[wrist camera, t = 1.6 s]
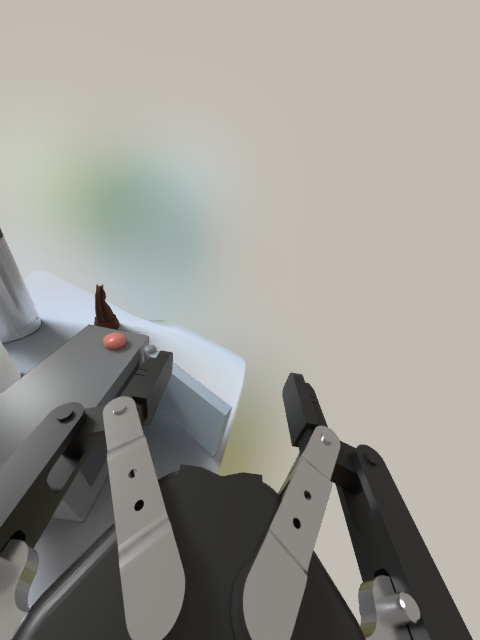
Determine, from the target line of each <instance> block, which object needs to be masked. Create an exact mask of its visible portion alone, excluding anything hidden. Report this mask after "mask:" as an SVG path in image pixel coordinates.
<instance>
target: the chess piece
mask: <svg viewBox="0 0 480 640" xmlns="http://www.w3.org/2000/svg"><path fill="white" fill-rule="evenodd" d="M105 299H106V294H105V292H104V290H103V285H102V286H98V285H97V286H96V294H95V311H96V317H95V322H94V325H95V326H99V327H104V328H110V329H115V330H116V329H118V327H119V322H118V319H117V318H116V315H115V314H113V312H112V310H111V308H110V307H109V305H108V304H107V303H106V302H105Z"/></svg>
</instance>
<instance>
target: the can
mask: <svg viewBox="0 0 480 640" xmlns="http://www.w3.org/2000/svg"><path fill="white" fill-rule="evenodd" d="M20 378H21V374H20V372H19V370H18V368H17V367H16V365H15V363H14V362H13V360H12V358H11V357H10V355H9V354H8V352H7V350H6V349H5V347H4V346H3V344H2V342H1V341H0V394H1V393H3V392H4V391H5V390H6V389H8V388H9V387H10V386H12V385H13V384H14V383H15V382H17V381H18V380H19V379H20Z"/></svg>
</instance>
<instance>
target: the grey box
mask: <svg viewBox="0 0 480 640" xmlns="http://www.w3.org/2000/svg"><path fill="white" fill-rule="evenodd" d="M147 345H149V336H146V335H140V334H135V333H130V332H125V331H120V330H115V329H110V328H104V327H99V326H94V325H88V326H87V327H85V328H84V329H83V330H82V331H80V332H79V333H78V334H77V335H75V336H74V337H73V338H71V339H70V340H69V341H68V342H66V343H65V344H64V345H63V346H61V347H60V348H59V349H57V350H56V351H55V352H54V353H52V354H51V355H50V356H49V357H47V358H46V359H45V360H43V361H42V362H41V363H40V364H38V365H37V366H36V367H35V368H33V369H32V370H31V371H29V372H28V373H27V374H26V375H24V376H23V377H22V378H21V379H19V380H18V381H17V382H15V383H14V384H13V385H12V386H10V387H9V388H8V389H6V390H5V391H4V392H3V393H1V394H0V467H1V466H2V465H3V464H4V463H5V462H6V461H7V460H8V459H9V457H10V456H11V455H12V454H13V453H14V452H15V451H16V450H17V448H18V447H19V446H20V445H21V444H22V443H23V442H24V441H25V440H26V438H27V437H28V436H29V435H30V434H31V433H32V432H33V431H34V430H35V428H36V427H37V426H38V425H39V424H40V423H41V422H42V421H43V420H44V418H45V417H46V416H47V415H48V414H49V413H50V412H51V411H52V410H54V409H55V408H57V407H58V406H60V405H63V404H66V403H70V402H77V403H80V404H82V405H83V407H84V409H85V408H92V407H99V406H104V405H107V404H108V403H109V402H110V401H112V400H113V399H115V398H118V397H120V395H121V394H122V393H123V391H124V390H125V388H126V387H127V385H128V384H129V382H130V381H131V379H132V378H133V377H134V375H135V374H136V372H137V371H138V370H139V368H140V366H141V365H142V363H143V362H144V361H145V358H144V347H145V346H147ZM108 475H109V470H108V462H107V449H102V450H97V451H93V452H90V453H89V454H88V456H87V458H86V460H85V461H84V463H83V465H82V466H81V468H80V470H79V471H78V473H77V475H76V477H75V478H74V480H73V482H72V483H71V485H70V487H69V488H68V490H67V492H66V494H65V495H64V497H63V499H62V500H61V502H60V504H59V505H58V507H57V509H56V511H55V512H54V514H53V516H52V517H51V518H54V519H62V520H69V521H77V522H84V521H85V519H86V517H87V515H88V513H89V511H90V509H91V507H92V505H93V503H94V501H95V500H96V498H97V496H98V494H99V492H100V490H101V488H102V486H103V484H104V482H105V480H106V478H107V476H108Z"/></svg>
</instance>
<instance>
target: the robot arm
mask: <svg viewBox="0 0 480 640" xmlns="http://www.w3.org/2000/svg"><path fill="white" fill-rule="evenodd" d="M40 325H41V320H40V318H39V316H38V313H37V311H36V309H35V306H34V304H33V301H32V299H31V297H30V295H29V292H28V290H27V288H26V286H25V283H24V281H23V279H22V276H21V274H20V272H19V270H18V267H17V265H16V263H15V260H14V258H13V256H12V254H11V252H10V249H9V247H8V245H7V242H6V241H5V238H4V236H3V234H2V231H1V229H0V341H1V342H2V343H4V342H9V341H13V340H17V339H20V338H22V337H25V336H27V335H29V334H31V333H33V332H34V331H36V330H37V329H38V328H39V327H40ZM172 369H173V353H172V352H166V351H160V352H159V353H158V355H157V357H156V358H153V357H150V358H148V359H147V360H146V361H144V362H143V363H142V365H141V366H140V368H139V370H138V371H137V372H136V374H135V375H134V377H133V378H132V379H131V381H130V382H129V384H128V385H127V387H126V388H125V390H124V391H123V393H122V394H121V395H120V397H118V398H115V399H113V400H112V401H110V402H109V403H108V404H107V405H104V406H99V407H92V408H85V409H84V407H83V405H82V404H80V403H77V402H70V403H66V404H63V405H60V406H58V407H57V408H55V409H54V410H52V411H51V412H50V413H49V414H48V415H47V416H46V417H45V418H44V420H43V421H42V422H41V423H40V424H39V425H38V426H37V427H36V428H35V430H34V431H33V432H32V433H31V434H30V435H29V436H28V437H27V438H26V440H25V441H24V442H23V443H22V444H21V445H20V446H19V447H18V448H17V450H16V451H15V452H14V453H13V454H12V455H11V456H10V457H9V459H8V460H7V461H6V462H5V463H4V464H3V465H2V466H1V467H0V640H473V639H472V637H471V635H470V633H469V631H468V629H467V627H466V625H465V623H464V621H463V619H462V617H461V615H460V613H459V611H458V609H457V607H456V605H455V603H454V601H453V599H452V597H451V595H450V593H449V591H448V589H447V587H446V585H445V583H444V581H443V579H442V577H441V575H440V573H439V571H438V569H437V567H436V565H435V563H434V561H433V559H432V557H431V555H430V553H429V551H428V549H427V547H426V545H425V543H424V541H423V539H422V537H421V535H420V533H419V531H418V529H417V527H416V525H415V523H414V521H413V519H412V517H411V515H410V513H409V511H408V509H407V507H406V505H405V503H404V501H403V499H402V497H401V495H400V493H399V491H398V489H397V487H396V485H395V483H394V481H393V479H392V477H391V475H390V473H389V471H388V469H387V467H386V464H385V462H384V461H383V459H382V457H381V456H380V455H379V454H378V453H377V452H376V451H375V450H374V449H372V448H371V447H369V446H367V445H359V446H358V447H357V448H354V447H352V446H350V445H348V444H346V443H343V442H342V441H340V440H339V438H338V437H337V435H336V434H335V433H334V432H333V431H332V430H331V429H329V428H328V426H327V424H326V421H325V418H324V416H323V413H322V410H321V407H320V405H319V402H318V399H317V397H316V394H315V391H314V390H313V388H312V387H311V386H310V384H309V383H305V381H304V378H303V375H302V374H296V373H290V374H289V376H288V379H287V381H286V383H285V385H284V388H283V401H284V405H285V411H286V417H287V422H288V427H289V432H290V437H291V443H292V446H295V447H299V451H300V453H299V454H298V456H297V458H296V460H295V462H294V464H293V466H292V468H291V470H290V472H289V474H288V476H287V478H286V480H285V482H284V484H283V485H282V487H281V489H280V491H279V492H278V494H277V493H276V492H275V491H274V490H273V489H272V488H271V487H270V486H268V485H267V484H265V483H263V482H262V475H258V474H250V473H238V474H233V475H227V476H219V475H217V474H215V473H213V472H211V471H209V470H206V469H204V468H202V467H196V466H188V465H181V467H180V471H177V472H173V473H170V474H168V475H166V476H164V477H163V478H161V479H159V480H157V476H156V473H155V469H154V465H153V462H152V458H151V455H150V451H149V447H148V444H147V440H146V437H145V435H144V434H143V430H142V425H149V424H150V422H151V420H152V417H153V415H154V413H155V411H156V409H157V406H158V404H159V402H160V400H161V398H162V395H163V393H164V391H165V389H166V387H167V385H168V382H169V380H170V378H171V375H172ZM102 449H107V462H108V470H109V478H110V486H111V494H112V502H113V511H114V519H115V523H114V524H113V525H112V526H111V527H110V528H109V529H108V530H107V531H106V532H105V533H103V534H102V535H101V536H100V537H99V538H98V539H97V540H96V541H95V542H94V543H93V544H92V545H91V546H90V547H89V548H88V549H87V550H86V551H85V552H84V553H83V554H82V555H81V556H80V557H79V558H78V559H77V560H76V561H75V562H74V563H73V564H72V565H71V566H70V567H69V568H68V569H67V570H66V571H65V572H64V573H63V574H62V575H61V576H60V577H59V578H58V579H57V580H56V581H55V582H54V583H53V584H52V585H51V586H50V587H49V588H48V589H47V590H46V591H45V592H44V593H43V594H42V595H41V596H40V598H39V599H38V600H37V601H36V602H35V604H34V605H33V606H32V607H31V609H30V610H29V607H28V594H29V589H30V586H31V584H32V581H33V579H34V577H35V574H36V572H37V569H38V564H39V556H38V553H37V552H36V551H35V550H34V549H33V548H34V546H35V545H36V543H37V541H38V539H39V538H40V536H41V534H42V533H43V531H44V529H45V528H46V526H47V524H48V522H49V521H50V519H51V517H52V516H53V514H54V512H55V511H56V509H57V507H58V505H59V504H60V502H61V500H62V499H63V497H64V495H65V494H66V492H67V490H68V488H69V487H70V485H71V483H72V482H73V480H74V478H75V477H76V475H77V473H78V471H79V470H80V468H81V466H82V465H83V463H84V461H85V460H86V458H87V456H88V454H89V453H90V452H93V451H97V450H102ZM332 482H333V483H335V484H336V487H337V491H338V494H339V498H340V501H341V505H342V509H343V512H344V515H345V520H346V523H347V527H348V530H349V534H350V537H351V541H352V545H353V548H354V552H355V556H356V559H357V563H358V566H359V570H360V573H361V577H362V580H363V583H362V584H361V585H360V588H359V593H358V599H359V611H360V615H361V626H360V625H359V624H358V622H357V620H356V618H355V617H354V615H353V613H352V612H351V610H350V609H349V607H348V606H347V604H346V602H345V600H344V599H343V597H342V596H341V594H340V592H339V591H338V589H337V587H336V586H335V584H334V582H333V581H332V579H331V578H330V576H329V574H328V573H327V571H326V570H325V568H324V566H323V565H322V563H321V562H320V560H319V558H318V557H317V555H316V553H315V552H314V550H313V549H314V546H315V543H316V539H317V536H318V532H319V529H320V526H321V522H322V519H323V516H324V512H325V509H326V505H327V502H328V499H329V495H330V492H331V488H332Z"/></svg>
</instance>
